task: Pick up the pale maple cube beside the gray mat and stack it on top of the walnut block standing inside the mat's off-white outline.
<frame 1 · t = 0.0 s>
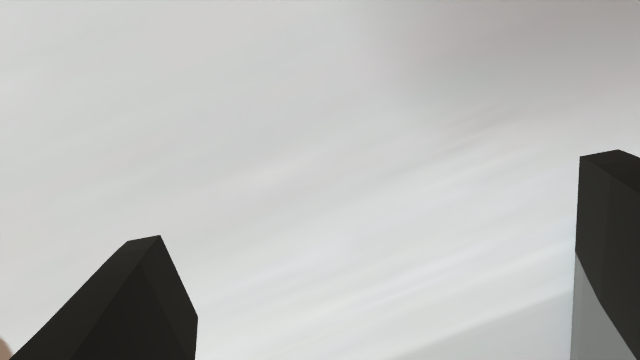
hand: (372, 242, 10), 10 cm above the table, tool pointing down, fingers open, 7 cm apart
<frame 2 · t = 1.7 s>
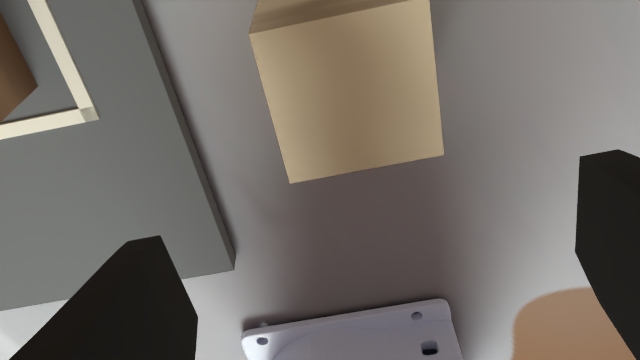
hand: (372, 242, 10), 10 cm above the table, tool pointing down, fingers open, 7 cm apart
maple cube: (342, 44, 19), on the table
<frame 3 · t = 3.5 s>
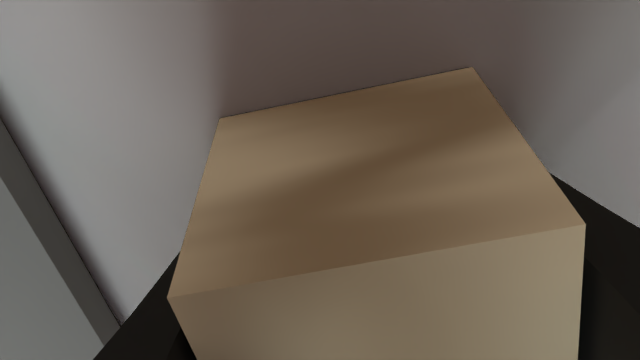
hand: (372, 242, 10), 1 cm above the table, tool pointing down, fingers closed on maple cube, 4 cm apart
maple cube: (364, 197, 11), on the table, touching gripper
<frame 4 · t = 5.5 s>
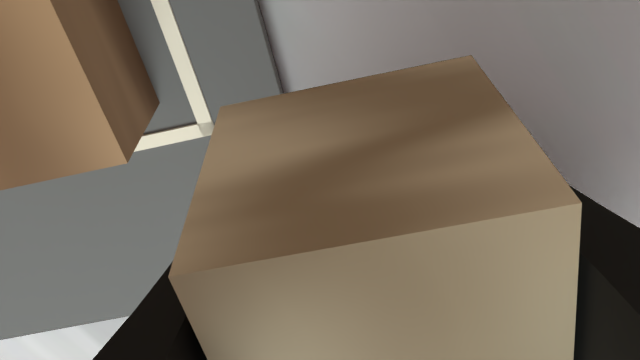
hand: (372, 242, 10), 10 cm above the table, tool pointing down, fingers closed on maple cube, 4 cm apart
maple cube: (363, 186, 11), point 9 cm above the table, touching gripper
gray mat: (44, 92, 19), on the table
walnut block: (33, 37, 17), point 1 cm above the table, touching gray mat
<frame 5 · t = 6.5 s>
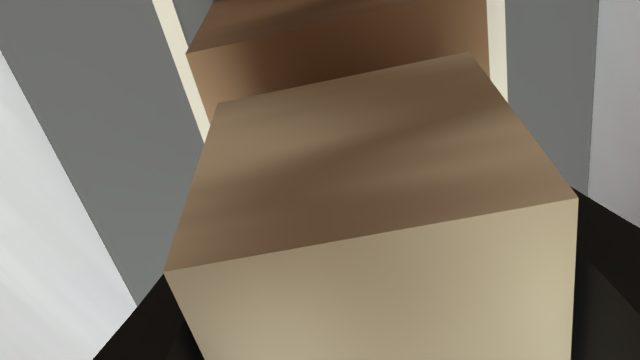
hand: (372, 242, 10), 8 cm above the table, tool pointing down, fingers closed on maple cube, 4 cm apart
maple cube: (361, 183, 11), point 6 cm above the table, touching gripper
gray mat: (325, 138, 18), on the table
walnut block: (346, 84, 16), point 1 cm above the table, touching gray mat
when the fingers open (7 cm above the table, at t = 7.5 s): maple cube stays where it is, resting on walnut block.
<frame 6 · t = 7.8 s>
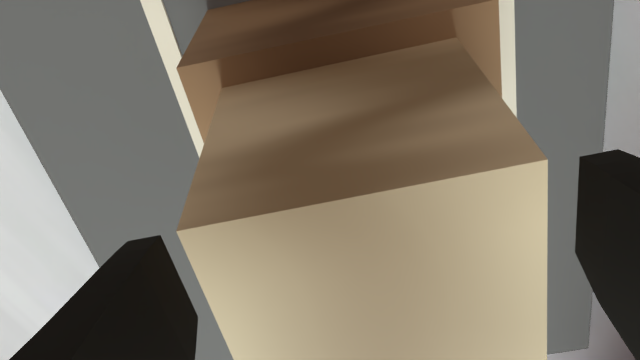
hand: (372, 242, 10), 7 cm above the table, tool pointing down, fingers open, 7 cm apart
maple cube: (357, 163, 12), point 5 cm above the table, touching walnut block
gray mat: (325, 150, 17), on the table
walnut block: (347, 95, 15), point 1 cm above the table, touching gray mat, maple cube
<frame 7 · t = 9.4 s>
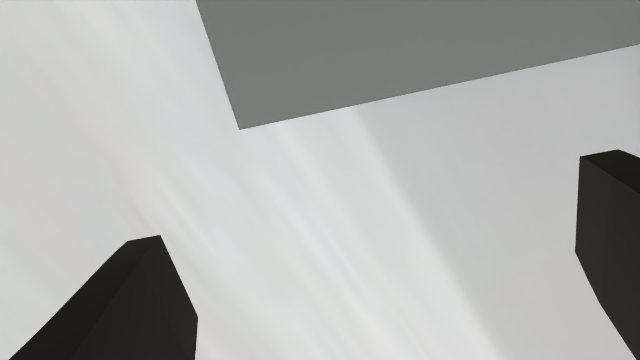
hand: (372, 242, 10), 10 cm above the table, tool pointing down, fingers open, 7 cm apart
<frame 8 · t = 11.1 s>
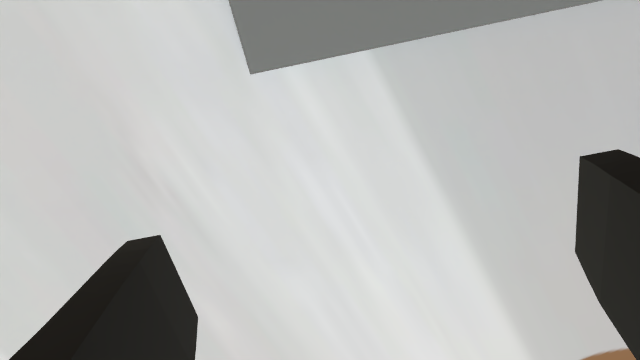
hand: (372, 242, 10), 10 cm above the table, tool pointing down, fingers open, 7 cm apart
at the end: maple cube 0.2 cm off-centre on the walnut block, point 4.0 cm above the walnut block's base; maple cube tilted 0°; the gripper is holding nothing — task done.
